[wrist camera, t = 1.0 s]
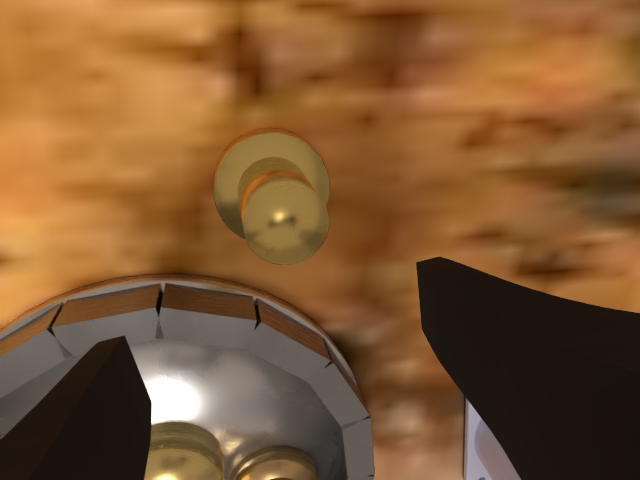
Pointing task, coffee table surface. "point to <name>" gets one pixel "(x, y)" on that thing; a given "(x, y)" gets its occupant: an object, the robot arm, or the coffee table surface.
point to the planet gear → (274, 194)
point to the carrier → (204, 377)
